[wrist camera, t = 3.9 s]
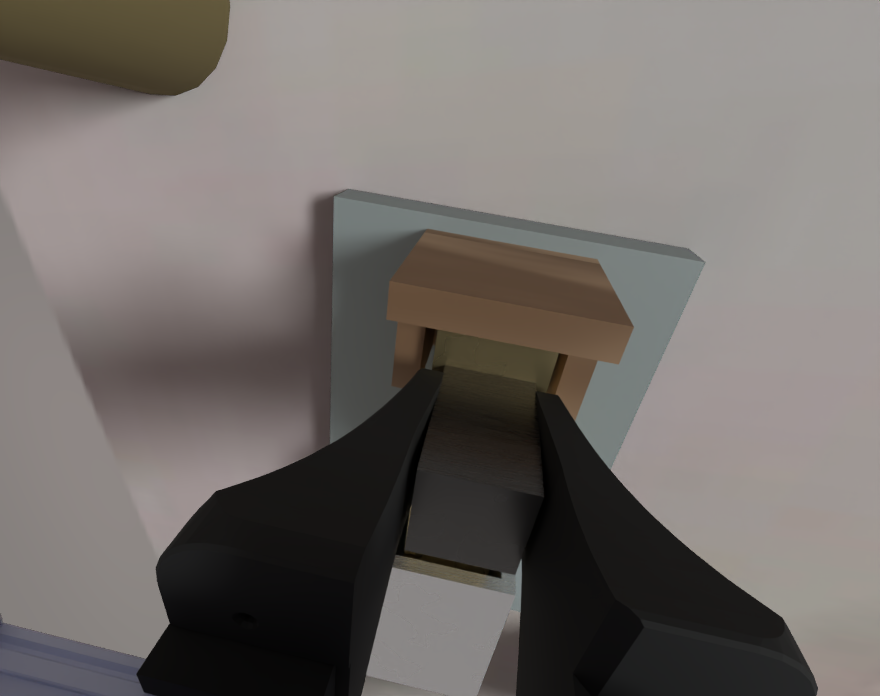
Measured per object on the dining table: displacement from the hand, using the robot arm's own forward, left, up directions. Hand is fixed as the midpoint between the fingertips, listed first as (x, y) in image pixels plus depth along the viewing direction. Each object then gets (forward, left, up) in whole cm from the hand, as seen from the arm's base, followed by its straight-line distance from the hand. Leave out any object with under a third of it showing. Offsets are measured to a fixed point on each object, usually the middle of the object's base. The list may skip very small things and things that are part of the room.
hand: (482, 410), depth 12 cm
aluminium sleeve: (-11, 0, -4) cm, 12 cm away
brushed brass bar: (-3, 0, -4) cm, 6 cm away
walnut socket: (+2, 0, -4) cm, 5 cm away
